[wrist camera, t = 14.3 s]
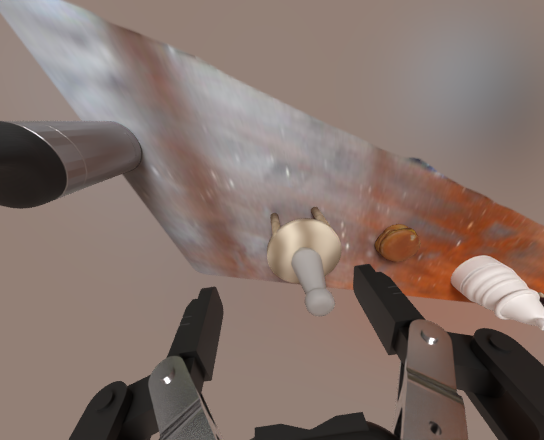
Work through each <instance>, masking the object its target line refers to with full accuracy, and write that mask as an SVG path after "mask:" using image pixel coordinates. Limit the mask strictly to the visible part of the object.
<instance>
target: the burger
mask: <svg viewBox="0 0 544 440" xmlns="http://www.w3.org/2000/svg"><path fill="white" fill-rule="evenodd" d="M420 244H421V243H420V239H419V236H418V235H417V234H416V232H415V231H414V230H413V229H411V228H408V227H407V226H405V225H402V224H396V225H392V226H390V227H388V228H387V229H386V230H385V231H384V233H383V234H381V235H380V236H379V237H378V239H377V241H376V243H375V247H376V250H377V251H378V252H379V253H380V254H381V255H382V256H383V257H384V258H386V259H388V260H390V261H394V262H401V261H404V260H407V259H408V258H410V257H412V256H413V255H414V254H415V253H416V252H417V251H418V250H419V248H420Z"/></svg>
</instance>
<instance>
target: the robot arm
mask: <svg viewBox="0 0 544 440" xmlns="http://www.w3.org/2000/svg"><path fill="white" fill-rule="evenodd" d="M140 160H141V148H140V145H139V142H138V141H137V139H136V137H135V136H134V135H133V133H131V132H130V131H129V130H128V129H127V128H126V127H124V126H123V125H120V124H118V123H115V122H112V121H0V205H1V206H6V207H10V208H32V207H36V206H39V205H43V204H45V203H48V202H50V201H53V200H56V199H58V198H61V197H63V196H66V195H69V194H71V193H74V192H76V191H79V190H81V189H84V188H86V187H89V186H91V185H94V184H96V183H99V182H102V181H104V180H107V179H109V178H112V177H115V176H117V175H120V174H123V173H125V172H128V171H130V170H133V169H134V168H136V167H137V166H138V164H139V163H140ZM353 288H354V293H355V295H356V297H357V299H358V301H359V303H360V305H361V306H362V308H363V310H364V312H365V314H366V315H367V317H368V319H369V321H370V323H371V324H372V326H373V328H374V330H375V331H376V333H377V335H378V337H379V339H380V341H381V342H382V344H383V346H384V348H385V350H386V351H387V353H388V355H394V354H397V355H398V357H399V358H400V360H401V362H400V369H399V379H398V389H397V398H396V407H395V413H394V419H393V426H392V433H391V432H390V431H388V430H387V429H385V428H383V427H381V426H379V425H377V424H374V423H371V422H368V421H366V420H365V418H364V415H363V412H359V413H352V414H346V415H339V416H335V417H333V418H331V419H329V420H328V421H326V422H324V423H323V424H320V425H319V426H317V427H315V428H313V429H310V430H308V429H302V428H298V427H294V426H289V425H284V424H277V425H270V426H263V427H256V428H255V437H254V438H252V439H250V440H468V432H467V424H466V415H465V407H464V402H463V399H462V397H461V396H459V395H458V394H457V389H459V390H463V391H464V392H465V393H466V394H467V396H468V397H469V399H470V400H471V402H472V403H473V404H474V406H475V407H476V409H477V410H478V411H479V413H480V414H481V416H482V417H483V418H484V420H485V421H486V423H487V424H488V425H489V427H490V428H491V430H492V431H493V433H494V434H495V436H496V437H497V438H498V440H544V366H543V365H542V364H541V363H540V362H539V361H538V360H537V359H536V358H534V357H533V356H532V355H531V354H530V353H529V352H528V351H527V350H526V349H525V348H523V347H522V346H521V345H520V344H519V343H518V342H516V341H515V340H514V339H512V338H511V337H509V336H508V335H506V334H504V333H502V332H499V331H496V330H493V329H487V328H482V329H478V330H477V331H476V332H475V333H474V335H473V336H470V335H464V334H457V333H451V332H446V331H445V330H444V329H443V328H442V327H440V326H439V325H437V324H435V323H433V322H431V321H427V320H425V318H424V317H423V316H422V315H421V314H420V313H419V312H418V310H417V309H416V308H415V307H414V306H413V304H412V303H411V302H410V301H409V300H408V298H407V297H406V296H405V295H404V294H403V293H402V291H401V290H400V289H399V288H398V287H397V286H396V284H395V283H394V282H393V281H392V279H391V278H390V277H388V276H387V275H385V274H384V273H382V272H375V270H374V269H373V268H372V266H371V265H370V264H365V265H358V266H355V267H354V280H353ZM222 319H223V305H222V302H221V299H220V297H219V294H218V291H217V289H216V287H210V288H202V289H201V291H200V294H199V296H198V299H193V300H192V301H191V302H190V304H189V305H188V306H187V307H186V310H185V312H184V315H183V318H182V320H181V322H180V326H179V328H178V330H177V333H176V335H175V338H174V341H173V343H172V346H171V348H170V351H169V354H168V356H167V358H166V359H164V360H163V361H162V362H160V363H159V364H158V365H157V366H156V367H155V369H154V370H153V372H152V374H151V375H149V376H148V377H145V378H143V379H141V380H139V381H137V382H135V383H133V384H131V385H129V386H127V385H126V384H125V383H124V382H122V381H116V382H113V383H111V384H109V385H107V386H105V387H104V388H103V389H101V391H99V392H98V393H97V394H96V395H95V396H94V397H93V399H92V400H91V401H90V403H89V404H88V406H87V408H86V410H85V411H84V413H83V415H82V417H81V418H80V420H79V422H78V424H77V426H76V427H75V429H74V431H73V433H72V434H71V436H70V438H69V440H150V438H151V435H153V434H155V433H157V432H160V439H159V440H224V439H223V437H222V435H221V433H220V431H219V429H218V427H217V425H216V422H215V420H214V418H213V416H212V414H211V411H210V409H209V407H208V405H207V403H206V400H205V398H204V396H203V394H202V387H203V382H204V381H211V380H212V375H213V369H214V363H215V358H216V352H217V347H218V341H219V336H220V330H221V325H222Z"/></svg>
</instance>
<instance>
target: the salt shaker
mask: <svg viewBox="0 0 544 440" xmlns="http://www.w3.org/2000/svg"><path fill="white" fill-rule="evenodd" d="M291 265H292V268H293V270H294V272H295V274H296V276H297V278H298V280H299V282H300V284H301V286H302V288H303V290H304V292H305V294H306V297H305V305H306V307H307V309H308V311H309V313H311V314H312V315H315V316H325V315H327V314H328V313H330V312H331V311H332V310H333V309H334V306H335V301H334V298H333V296H332V294H331V292H330V291H328V290H327V289H326V283H325V276H324V270H323V264H322V259H321V257H320V255H319V254H318V253H317V252H316V251H315V250H313V249H311V248H306V247H301V248H299V249H298V250H297V251H296V252H295V253H294V255H293V257H292V263H291Z"/></svg>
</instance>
